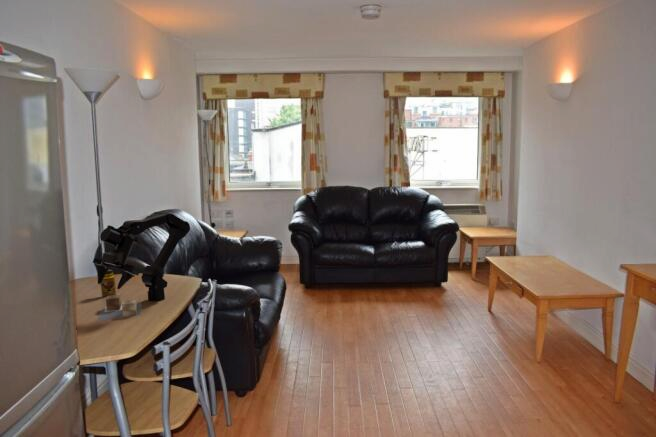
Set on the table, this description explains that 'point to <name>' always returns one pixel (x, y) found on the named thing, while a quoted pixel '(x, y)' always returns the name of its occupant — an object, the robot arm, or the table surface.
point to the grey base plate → (116, 313)
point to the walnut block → (113, 302)
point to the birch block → (129, 307)
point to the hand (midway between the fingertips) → (108, 286)
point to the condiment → (108, 285)
